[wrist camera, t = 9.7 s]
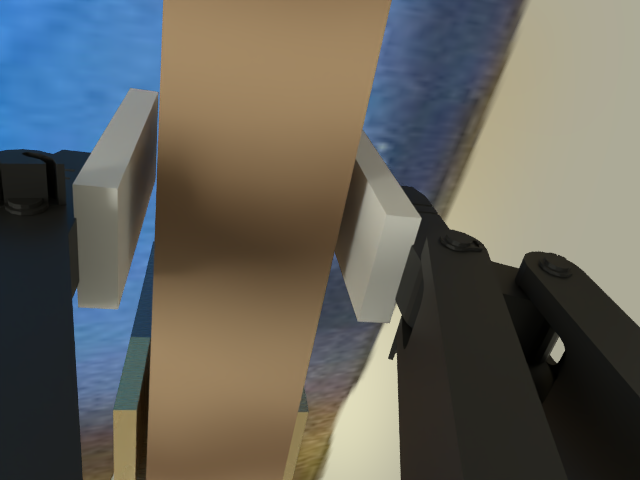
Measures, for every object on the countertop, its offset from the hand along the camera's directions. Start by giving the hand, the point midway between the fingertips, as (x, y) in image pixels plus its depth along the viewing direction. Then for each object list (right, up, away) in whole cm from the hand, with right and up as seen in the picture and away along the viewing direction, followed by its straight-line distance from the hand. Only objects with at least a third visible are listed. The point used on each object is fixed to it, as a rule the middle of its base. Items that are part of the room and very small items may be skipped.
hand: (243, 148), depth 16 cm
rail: (0, +1, +2) cm, 3 cm away
